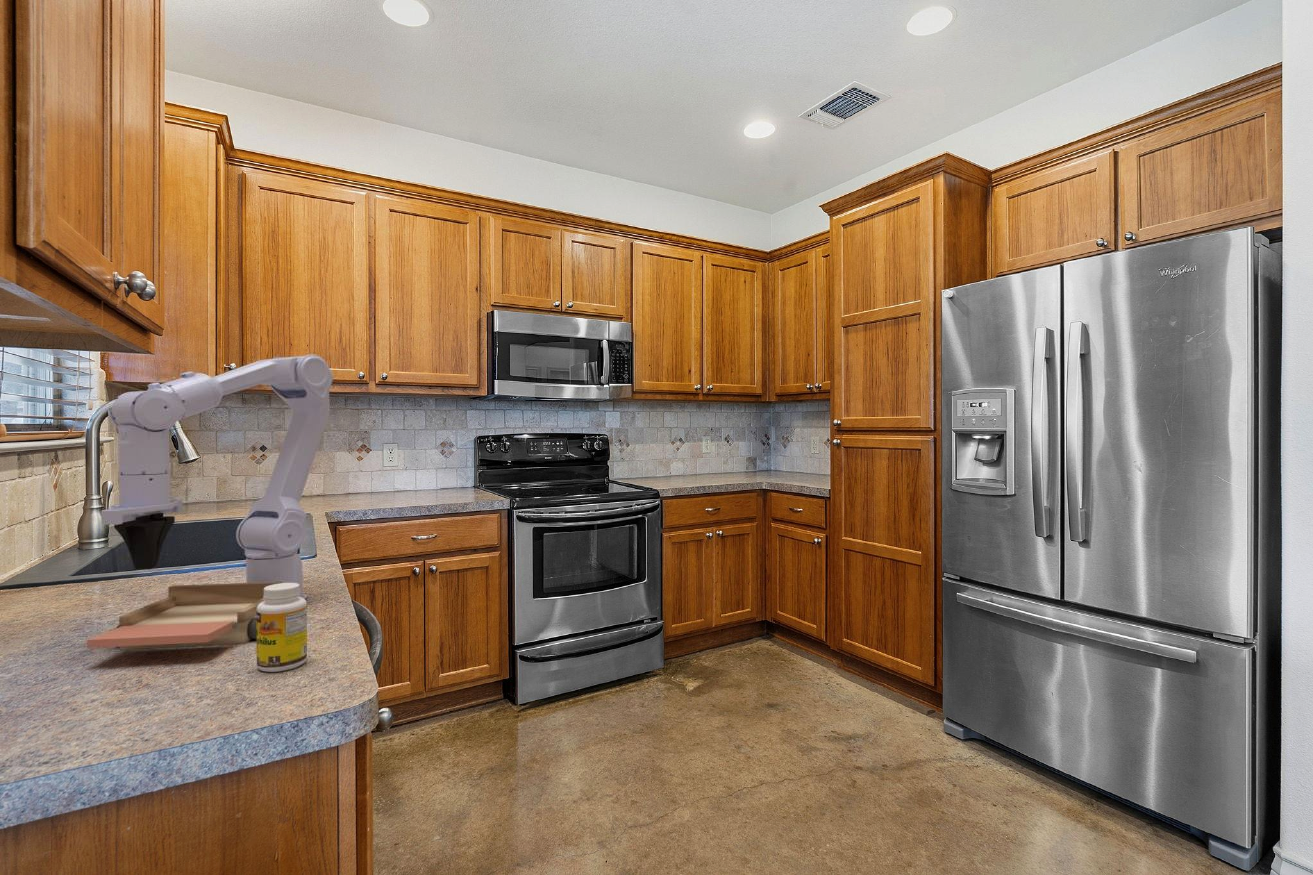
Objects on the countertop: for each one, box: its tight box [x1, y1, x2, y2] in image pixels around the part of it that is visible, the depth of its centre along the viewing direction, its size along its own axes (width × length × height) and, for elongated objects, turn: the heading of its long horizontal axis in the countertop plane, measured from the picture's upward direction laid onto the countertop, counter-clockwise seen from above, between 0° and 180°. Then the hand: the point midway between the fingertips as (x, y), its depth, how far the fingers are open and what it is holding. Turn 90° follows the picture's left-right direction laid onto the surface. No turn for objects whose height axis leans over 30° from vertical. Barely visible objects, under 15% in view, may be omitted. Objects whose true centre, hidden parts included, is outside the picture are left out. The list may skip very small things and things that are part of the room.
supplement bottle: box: [256, 583, 308, 673], centre depth 81 cm, size 6×6×10 cm
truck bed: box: [115, 582, 282, 650], centre depth 94 cm, size 12×18×6 cm, turn 98°
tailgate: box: [86, 621, 237, 649], centre depth 84 cm, size 1×14×7 cm
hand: (145, 568), depth 91 cm, fingers closed
